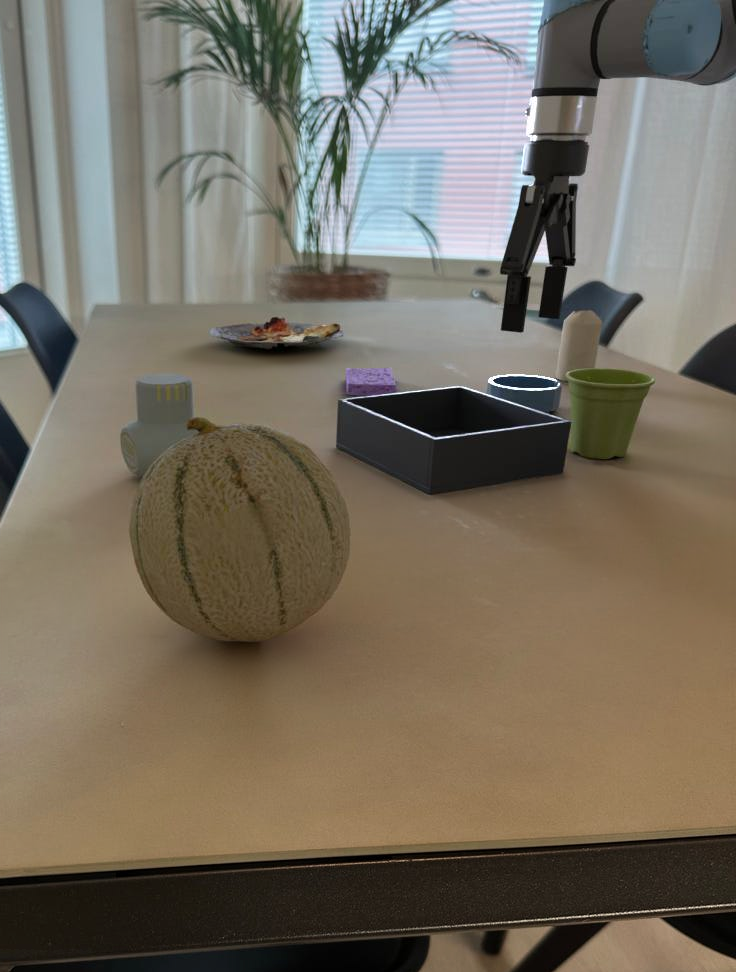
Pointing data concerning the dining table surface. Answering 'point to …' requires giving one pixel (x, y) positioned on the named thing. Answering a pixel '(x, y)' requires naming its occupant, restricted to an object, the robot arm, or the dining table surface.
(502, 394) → the blue round bowl
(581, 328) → the candle
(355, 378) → the sponge
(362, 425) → the tub
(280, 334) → the food plate
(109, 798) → the dining table surface
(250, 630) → the cantaloupe
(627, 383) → the plant pot
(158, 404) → the air freshener
